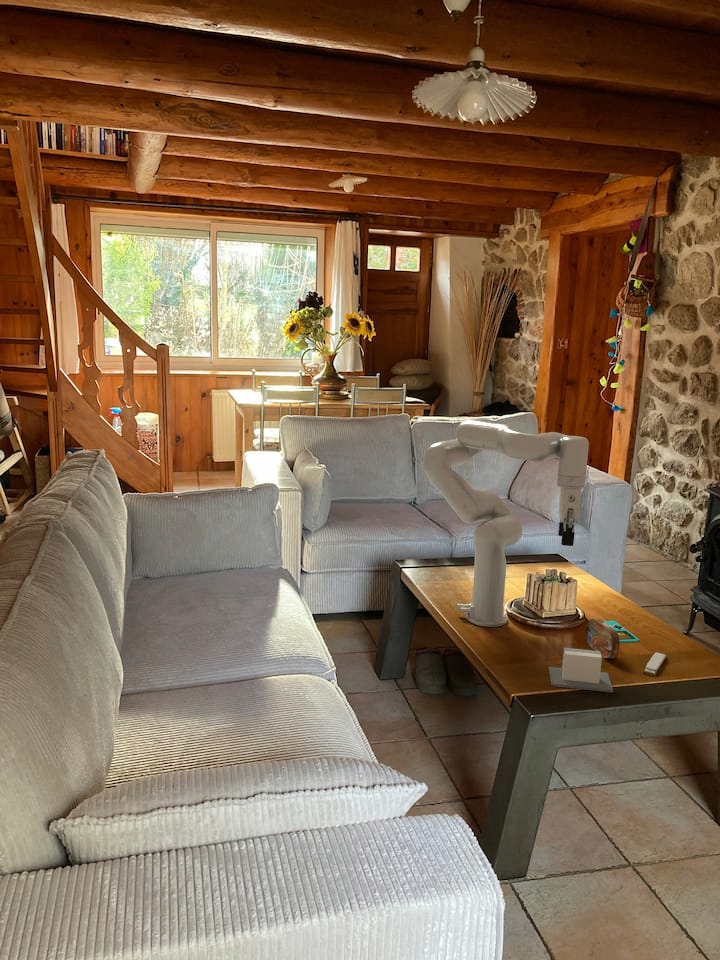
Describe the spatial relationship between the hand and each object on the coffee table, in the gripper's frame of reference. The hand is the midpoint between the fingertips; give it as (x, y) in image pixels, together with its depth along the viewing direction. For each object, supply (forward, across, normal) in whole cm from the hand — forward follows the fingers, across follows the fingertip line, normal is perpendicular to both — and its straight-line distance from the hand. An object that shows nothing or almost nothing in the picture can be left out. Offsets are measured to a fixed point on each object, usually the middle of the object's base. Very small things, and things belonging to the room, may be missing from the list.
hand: (565, 540), depth 212 cm
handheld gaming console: (+31, +12, -18) cm, 38 cm away
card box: (+30, -24, -4) cm, 38 cm away
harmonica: (+31, -10, -25) cm, 41 cm away
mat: (+30, -24, -4) cm, 39 cm away
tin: (+31, -4, -12) cm, 33 cm away
